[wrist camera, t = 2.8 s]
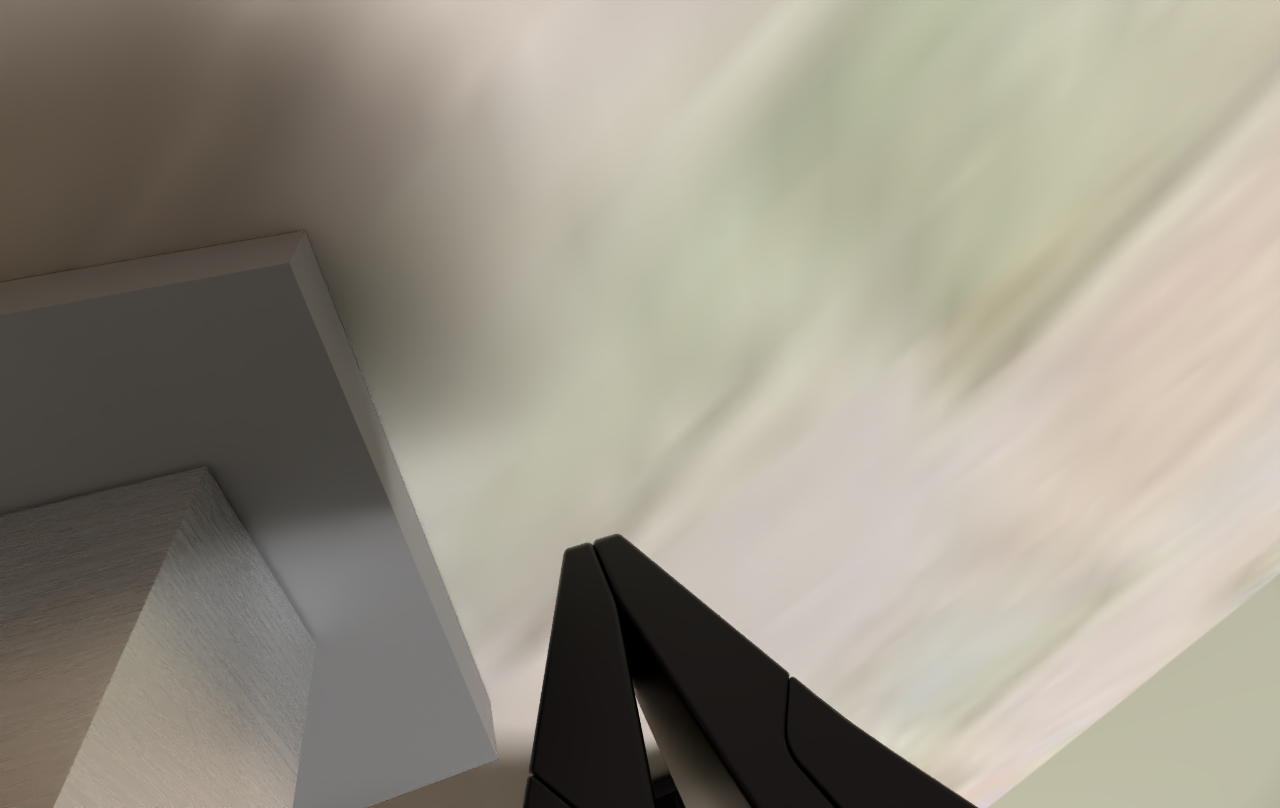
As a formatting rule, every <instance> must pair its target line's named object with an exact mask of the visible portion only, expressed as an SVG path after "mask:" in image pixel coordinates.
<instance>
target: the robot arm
mask: <svg viewBox="0 0 1280 808" xmlns="http://www.w3.org/2000/svg"><path fill="white" fill-rule="evenodd" d="M635 695H636V697H635ZM636 698H637V700H638V703H639V705H640V707H641V709H642V711H643V714H644V716H645V718H646V720H647V723H648V725H649V727H650V729H651V731H652V734H653V736H654V738H655V740H656V743H657V745H658V747H659V749H660V751H661V754H662V756H663V758H664V760H665V763H666V765H667V767H668V769H669V771H670V774H671V776H672V778H670V779H668V780H665V781H663V782H660V783H658V784H655V785H652V779H651V774H650V769H649V764H648V759H647V754H646V749H645V743H644V738H643V733H642V728H641V723H640V718H639V712H638V707H637V702H636ZM529 774H530V777H528V779H527V784H526V790H525V796H524V802H523V808H978V807H976V806H975V805H973V804H972V803H970V802H969V801H967V800H966V799H964V798H963V797H961V796H960V795H958V794H957V793H955V792H954V791H952V790H951V789H949V788H948V787H946V786H945V785H943V784H942V783H940V782H939V781H937V780H936V779H934V778H933V777H931V776H930V775H928V774H927V773H925V772H924V771H922V770H921V769H919V768H917V767H916V766H914V765H913V764H911V763H910V762H908V761H907V760H905V759H904V758H902V757H901V756H899V755H898V754H896V753H895V752H893V751H892V750H890V749H889V748H888V747H886V746H885V745H883V744H882V743H880V742H879V741H877V740H876V739H875V738H873V737H872V736H870V735H869V734H867V733H866V732H864V731H863V730H862V729H860V728H859V727H857V726H856V725H854V724H853V723H852V722H850V721H849V720H848V719H846V718H845V717H844V716H842V715H841V714H840V713H839V712H837V711H836V710H835V709H833V708H832V707H831V706H830V705H828V704H827V703H826V702H824V701H823V700H822V699H821V698H819V697H818V696H817V695H815V694H814V693H813V692H812V691H811V690H809V689H808V688H807V687H806V686H805V685H803V684H802V683H801V682H800V681H799V680H797V679H796V678H795V677H791V678H790V679H789V673H788V672H787V671H786V670H785V669H784V668H782V667H781V666H780V665H779V664H778V663H776V662H775V661H774V660H773V659H771V658H770V657H769V656H768V655H767V654H765V653H764V652H763V651H762V650H761V649H759V648H758V647H757V646H756V645H754V644H753V643H752V642H751V641H750V640H748V639H747V638H746V637H745V636H743V635H742V634H741V633H740V632H739V631H737V630H736V629H735V628H734V627H733V626H731V625H730V624H729V623H728V622H726V621H725V620H724V619H723V618H722V617H720V616H719V615H718V614H717V613H715V612H714V611H713V610H712V609H711V608H709V607H708V606H707V605H706V604H705V603H703V602H702V601H701V600H700V599H698V598H697V597H696V596H695V595H694V594H692V593H691V592H690V591H689V590H688V589H686V588H685V587H684V586H683V585H681V584H680V583H679V582H678V581H677V580H675V579H674V578H673V577H672V576H670V575H669V574H668V573H667V572H666V571H664V570H663V569H662V568H661V567H660V566H658V565H657V564H656V563H655V562H653V561H652V560H651V559H650V558H649V557H647V556H646V555H645V554H644V553H642V552H641V551H640V550H639V549H638V548H636V547H635V546H634V545H633V544H632V543H630V542H629V541H628V540H627V539H625V538H624V537H623V536H622V535H620V534H614V535H610V536H607V537H604V538H600V539H597V540H595V541H594V543H593V545H592V544H591V543H589V542H588V543H584V544H581V545H577V546H574V547H571V548H568V549H566V550H565V552H564V555H563V561H562V567H561V574H560V580H559V586H558V592H557V599H556V605H555V611H554V617H553V624H552V630H551V636H550V642H549V649H548V655H547V661H546V667H545V674H544V680H543V686H542V692H541V698H540V705H539V711H538V717H537V723H536V730H535V736H534V742H533V748H532V755H531V761H530V767H529Z"/></svg>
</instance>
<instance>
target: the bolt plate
mask: <svg viewBox="0 0 1280 808" xmlns="http://www.w3.org/2000/svg"><path fill="white" fill-rule="evenodd" d="M205 466H206V467H207V469H208V470H209V472H210V473H211V475H212V477H213V478H214V480H215V482H216V483H217V485H218V486H219V488H220V490H221V491H222V493H223V495H224V496H225V498H226V500H227V501H228V503H229V504H230V506H231V508H232V509H233V511H234V513H235V514H236V516H237V517H238V519H239V521H240V522H241V524H242V526H243V527H244V529H245V530H246V532H247V534H248V535H249V537H250V539H251V540H252V542H253V543H254V545H255V547H256V548H257V550H258V552H259V553H260V555H261V556H262V558H263V560H264V561H265V563H266V565H267V566H268V568H269V570H270V571H271V573H272V574H273V576H274V578H275V579H276V581H277V583H278V584H279V586H280V587H281V589H282V591H283V592H284V594H285V596H286V597H287V599H288V600H289V602H290V604H291V605H292V607H293V609H294V610H295V612H296V613H297V615H298V617H299V618H300V620H301V622H302V623H303V625H304V627H305V628H306V630H307V631H308V633H309V635H310V636H311V638H312V640H313V641H314V643H315V644H316V646H315V653H314V660H313V668H312V675H311V682H310V689H309V696H308V703H307V710H306V717H305V724H304V731H303V738H302V745H301V753H300V760H299V767H298V774H297V781H296V788H295V795H294V802H293V808H368V807H370V806H373V805H376V804H378V803H381V802H384V801H387V800H389V799H392V798H395V797H397V796H400V795H403V794H405V793H408V792H411V791H414V790H416V789H419V788H422V787H424V786H427V785H430V784H432V783H435V782H438V781H441V780H443V779H446V778H449V777H451V776H454V775H457V774H459V773H462V772H465V771H468V770H470V769H473V768H476V767H478V766H481V765H484V764H487V763H489V762H492V761H495V760H497V759H498V758H497V750H496V742H495V734H494V727H493V719H492V711H491V704H490V700H489V697H488V695H487V692H486V690H485V687H484V684H483V682H482V679H481V677H480V674H479V672H478V669H477V667H476V664H475V662H474V659H473V656H472V654H471V651H470V649H469V646H468V644H467V641H466V639H465V636H464V634H463V631H462V629H461V626H460V623H459V621H458V618H457V616H456V613H455V611H454V608H453V606H452V603H451V601H450V598H449V595H448V593H447V590H446V588H445V585H444V583H443V580H442V578H441V575H440V573H439V570H438V568H437V565H436V562H435V560H434V557H433V555H432V552H431V550H430V547H429V545H428V542H427V540H426V537H425V534H424V532H423V529H422V527H421V524H420V522H419V519H418V517H417V514H416V512H415V509H414V507H413V504H412V501H411V499H410V496H409V494H408V491H407V489H406V486H405V484H404V481H403V479H402V476H401V474H400V471H399V468H398V466H397V463H396V461H395V458H394V456H393V453H392V451H391V448H390V446H389V443H388V440H387V438H386V435H385V433H384V430H383V428H382V425H381V423H380V420H379V418H378V415H377V413H376V410H375V407H374V405H373V402H372V400H371V397H370V395H369V392H368V390H367V387H366V385H365V382H364V379H363V377H362V374H361V372H360V369H359V367H358V364H357V362H356V359H355V357H354V354H353V352H352V349H351V346H350V344H349V341H348V339H347V336H346V334H345V331H344V329H343V326H342V324H341V321H340V318H339V316H338V313H337V311H336V308H335V306H334V303H333V301H332V298H331V296H330V293H329V291H328V288H327V285H326V283H325V280H324V278H323V275H322V273H321V270H320V268H319V265H318V263H317V260H316V257H315V255H314V252H313V250H312V247H311V245H310V242H309V240H308V237H307V235H306V232H305V230H303V231H297V232H292V233H286V234H280V235H274V236H268V237H262V238H256V239H251V240H245V241H239V242H233V243H227V244H221V245H215V246H210V247H204V248H198V249H192V250H186V251H180V252H174V253H169V254H163V255H157V256H151V257H145V258H139V259H133V260H128V261H122V262H116V263H110V264H104V265H98V266H92V267H87V268H81V269H75V270H69V271H63V272H57V273H51V274H46V275H40V276H34V277H28V278H22V279H16V280H10V281H5V282H0V516H2V515H6V514H10V513H15V512H19V511H23V510H27V509H31V508H35V507H39V506H44V505H48V504H52V503H56V502H60V501H64V500H68V499H73V498H77V497H81V496H85V495H89V494H93V493H97V492H102V491H106V490H110V489H114V488H118V487H122V486H126V485H131V484H135V483H139V482H143V481H147V480H151V479H155V478H160V477H164V476H168V475H172V474H176V473H180V472H184V471H189V470H193V469H197V468H201V467H205Z"/></svg>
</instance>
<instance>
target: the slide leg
mask: <svg viewBox="0 0 1280 808" xmlns="http://www.w3.org/2000/svg"><path fill="white" fill-rule="evenodd" d="M315 646H316V644H315V643H314V641H313V640H312V638H311V636H310V635H309V633H308V631H307V630H306V628H305V627H304V625H303V623H302V622H301V620H300V618H299V617H298V615H297V613H296V612H295V610H294V609H293V607H292V605H291V604H290V602H289V600H288V599H287V597H286V596H285V594H284V592H283V591H282V589H281V587H280V586H279V584H278V583H277V581H276V579H275V578H274V576H273V574H272V573H271V571H270V570H269V568H268V566H267V565H266V563H265V561H264V560H263V558H262V556H261V555H260V553H259V552H258V550H257V548H256V547H255V545H254V543H253V542H252V540H251V539H250V537H249V535H248V534H247V532H246V530H245V529H244V527H243V526H242V524H241V522H240V521H239V519H238V517H237V516H236V514H235V513H234V511H233V509H232V508H231V506H230V504H229V503H228V501H227V500H226V498H225V496H224V495H223V493H222V491H221V490H220V488H219V486H218V485H217V483H216V482H215V480H214V478H213V477H212V475H211V473H210V472H209V470H208V469H207V467H206V466H205V467H201V468H197V469H193V470H189V471H184V472H180V473H176V474H172V475H168V476H164V477H160V478H155V479H151V480H147V481H143V482H139V483H135V484H131V485H126V486H122V487H118V488H114V489H110V490H106V491H102V492H97V493H93V494H89V495H85V496H81V497H77V498H73V499H68V500H64V501H60V502H56V503H52V504H48V505H44V506H39V507H35V508H31V509H27V510H23V511H19V512H15V513H10V514H6V515H2V516H0V808H293V802H294V795H295V788H296V781H297V774H298V767H299V760H300V753H301V745H302V738H303V731H304V724H305V717H306V710H307V703H308V696H309V689H310V682H311V675H312V668H313V660H314V653H315Z"/></svg>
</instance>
